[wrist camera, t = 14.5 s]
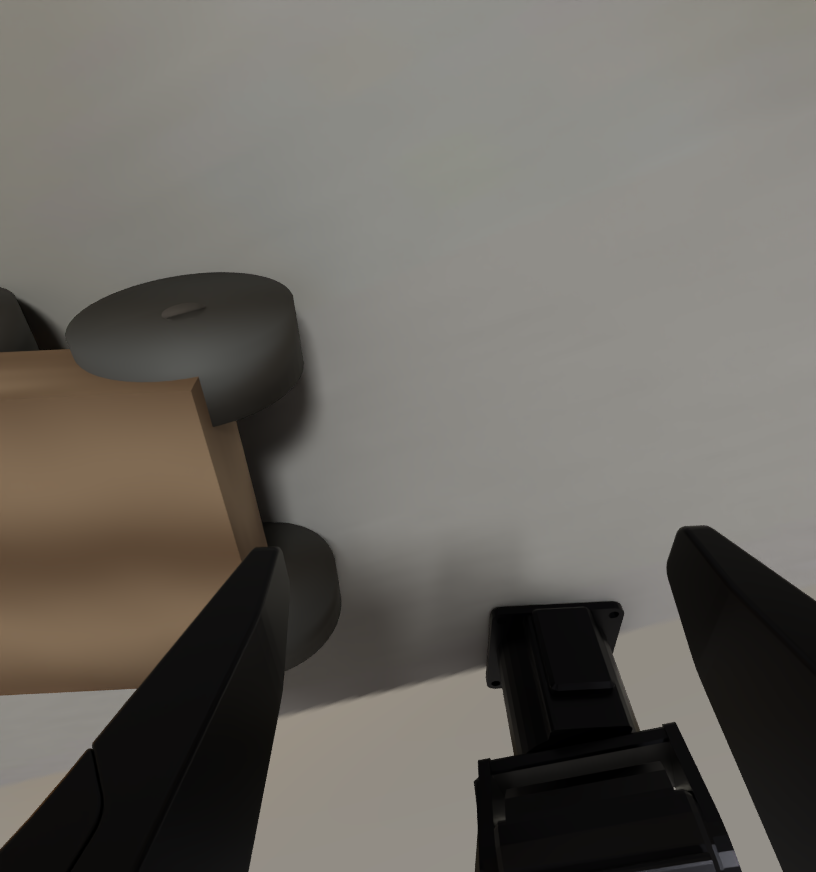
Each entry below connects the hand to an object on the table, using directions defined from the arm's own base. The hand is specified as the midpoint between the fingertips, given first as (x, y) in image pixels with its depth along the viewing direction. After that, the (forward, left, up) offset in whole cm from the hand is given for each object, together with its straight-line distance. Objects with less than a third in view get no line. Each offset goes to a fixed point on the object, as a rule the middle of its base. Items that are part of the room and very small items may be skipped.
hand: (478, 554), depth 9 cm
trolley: (-6, +11, -12) cm, 17 cm away
